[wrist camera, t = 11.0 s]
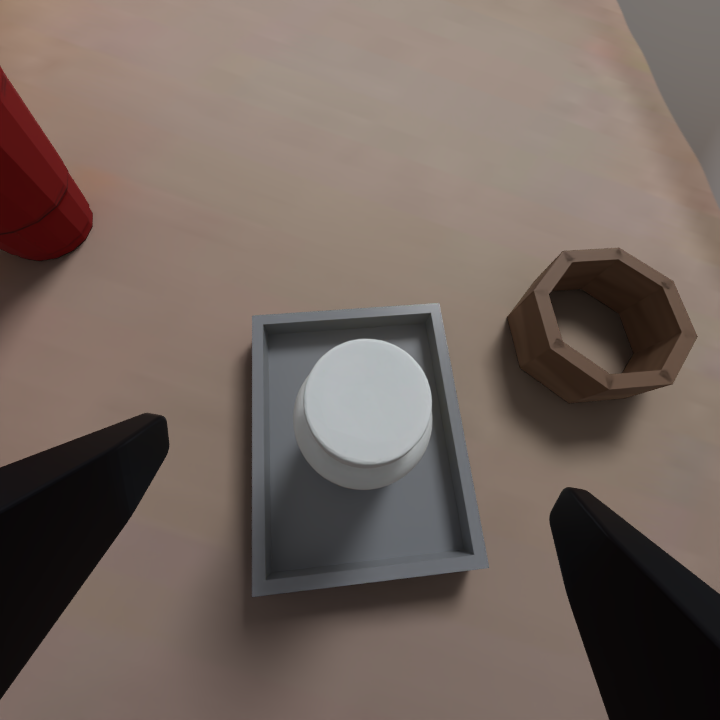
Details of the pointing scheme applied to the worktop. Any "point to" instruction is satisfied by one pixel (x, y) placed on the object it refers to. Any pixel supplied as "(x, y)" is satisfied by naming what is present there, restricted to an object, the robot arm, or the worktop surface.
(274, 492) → the tray
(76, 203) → the plastic cup
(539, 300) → the cup holder
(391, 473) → the supplement bottle
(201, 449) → the worktop surface
